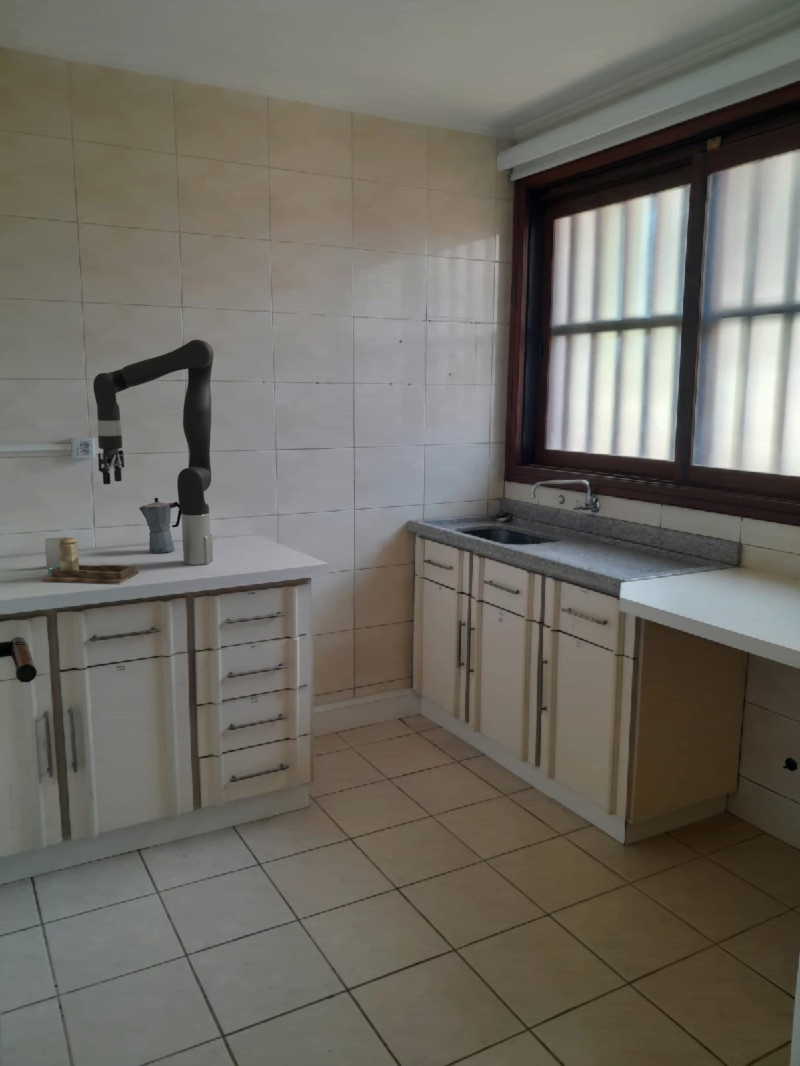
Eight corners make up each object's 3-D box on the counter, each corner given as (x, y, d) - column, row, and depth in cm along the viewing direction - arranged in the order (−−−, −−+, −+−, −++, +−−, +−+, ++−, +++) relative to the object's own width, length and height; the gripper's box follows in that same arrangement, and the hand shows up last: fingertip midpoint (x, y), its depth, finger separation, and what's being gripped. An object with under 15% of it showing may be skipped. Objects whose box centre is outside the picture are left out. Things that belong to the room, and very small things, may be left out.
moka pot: (139, 550, 297) (136, 497, 293) (181, 547, 304) (179, 494, 300) (143, 555, 289) (140, 500, 285) (186, 551, 295) (184, 498, 291)
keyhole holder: (138, 573, 261) (138, 564, 261) (120, 583, 248) (119, 574, 247) (65, 571, 264) (64, 562, 263) (42, 581, 250) (41, 572, 249)
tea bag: (69, 567, 270) (67, 537, 268) (48, 569, 267) (46, 539, 265) (68, 564, 273) (66, 536, 271) (46, 566, 270) (44, 537, 268)
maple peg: (81, 572, 258) (78, 538, 256) (73, 575, 253) (71, 540, 251) (66, 571, 259) (64, 537, 257) (59, 575, 254) (56, 540, 252)
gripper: (111, 435, 259) (114, 485, 262) (129, 433, 273) (132, 480, 276) (88, 435, 259) (92, 485, 262) (108, 432, 273) (111, 480, 276)
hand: (112, 482), depth 269 cm, fingers open, 8 cm apart
